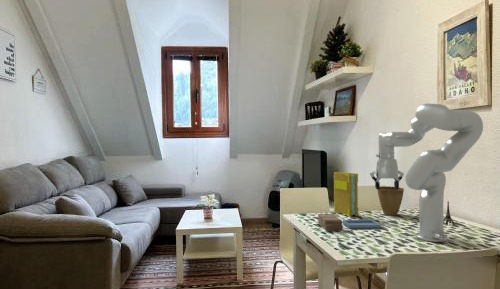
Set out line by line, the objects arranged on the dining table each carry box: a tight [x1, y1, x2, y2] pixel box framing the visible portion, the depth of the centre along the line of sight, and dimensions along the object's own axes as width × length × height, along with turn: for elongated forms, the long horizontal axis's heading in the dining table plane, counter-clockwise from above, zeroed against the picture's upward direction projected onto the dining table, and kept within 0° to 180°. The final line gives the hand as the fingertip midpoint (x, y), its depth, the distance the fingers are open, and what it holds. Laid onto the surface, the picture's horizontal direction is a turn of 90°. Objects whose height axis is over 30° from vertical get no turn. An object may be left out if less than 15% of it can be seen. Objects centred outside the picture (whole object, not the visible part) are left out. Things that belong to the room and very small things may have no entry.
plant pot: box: [376, 185, 405, 217], centre depth 202 cm, size 15×15×16 cm
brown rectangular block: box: [317, 213, 343, 232], centre depth 173 cm, size 16×8×5 cm, turn 2°
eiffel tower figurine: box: [444, 201, 457, 226], centre depth 177 cm, size 15×10×13 cm
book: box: [333, 171, 359, 217], centre depth 204 cm, size 17×7×25 cm, turn 22°
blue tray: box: [342, 219, 382, 230], centre depth 173 cm, size 11×16×2 cm
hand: (387, 189), depth 175 cm, fingers open, 9 cm apart
